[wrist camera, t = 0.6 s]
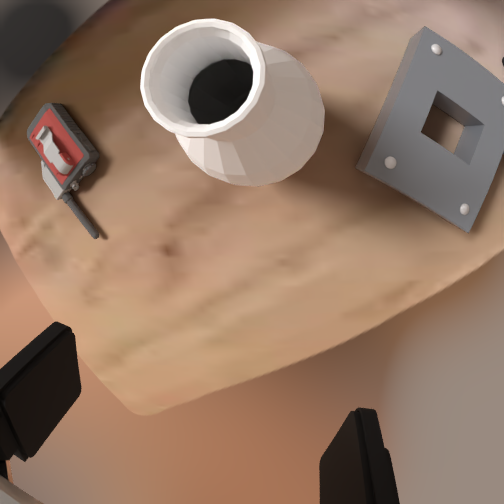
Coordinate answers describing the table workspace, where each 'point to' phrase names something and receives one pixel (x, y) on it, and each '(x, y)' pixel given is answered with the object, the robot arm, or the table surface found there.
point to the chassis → (425, 149)
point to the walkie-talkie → (63, 155)
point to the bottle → (233, 102)
